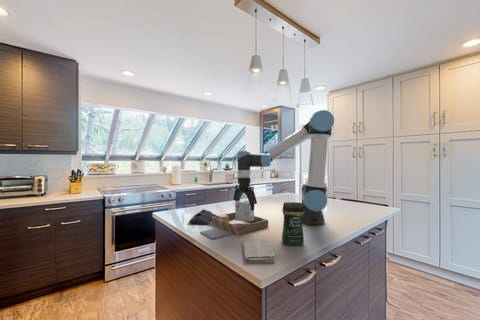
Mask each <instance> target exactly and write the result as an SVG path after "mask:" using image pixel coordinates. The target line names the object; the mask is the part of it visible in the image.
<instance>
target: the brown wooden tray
mask: <svg viewBox="0 0 480 320" xmlns="http://www.w3.org/2000/svg"><path fill="white" fill-rule="evenodd" d="M224 214H225V215H228V216H229V221H232V220H236V218H235V212H229V213H224ZM249 222H250V223H249V224H244V225H239V226H238V225H235V224H233V223H230V222H229V223H228V222H225V221H223V220H220V219H218V218H217V216H213V217H212V223H211V225H215V226H216V227H217V228H219V227H220V228H223V229H225V230H227V231H229V232H231V233H233V235H237V236H240V235H244V234H248V233H252V232H256V231H259V230H263V229H266V228H269V219H266V218H263V217H260V216H258V215H257V216H256V215H254V221H249Z"/></svg>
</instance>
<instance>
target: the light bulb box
mask: <svg viewBox="0 0 480 320" xmlns="http://www.w3.org/2000/svg"><path fill="white" fill-rule="evenodd" d="M249 204H250V202H249V200H240V201H235V202H234V210H235V218H236V219H235V221H236V222H250V221H254V216H255V215H254V216H249Z"/></svg>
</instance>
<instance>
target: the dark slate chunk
mask: <svg viewBox="0 0 480 320" xmlns="http://www.w3.org/2000/svg"><path fill="white" fill-rule="evenodd" d="M213 216H217V214H214V213H213V212H212V211H210V210H207V209H204V208H203V209H201V210H200V211H199V212H198V213H196V214H194V215H193V217H191V218H190V219H189V221H188V222H189V223H190V224H193V223H194V224H196V225H197V224H198V225H204V226H207V225H208V226H210V225H212V217H213Z"/></svg>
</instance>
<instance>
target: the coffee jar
mask: <svg viewBox="0 0 480 320" xmlns="http://www.w3.org/2000/svg"><path fill="white" fill-rule="evenodd" d="M281 210H282V214H283V226H282V233H281V235H282V236H281V240H282V241H281V242H282V243H283V244H285V245H287V246H302V245H304V241H305V240H304V229H303V223H302V217H303V214H304V207H303V204H302V202H296V201H295V202H293V201H292V202H290V201H288V202H283V204H282V209H281Z"/></svg>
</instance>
